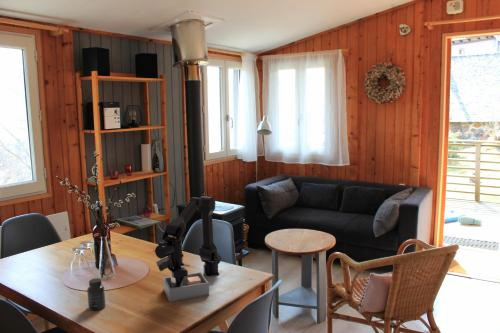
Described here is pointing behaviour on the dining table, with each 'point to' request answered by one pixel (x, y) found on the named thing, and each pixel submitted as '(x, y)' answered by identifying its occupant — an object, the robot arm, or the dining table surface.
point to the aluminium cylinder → (174, 282)
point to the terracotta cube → (193, 280)
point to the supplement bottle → (96, 295)
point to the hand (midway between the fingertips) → (176, 285)
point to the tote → (186, 288)
